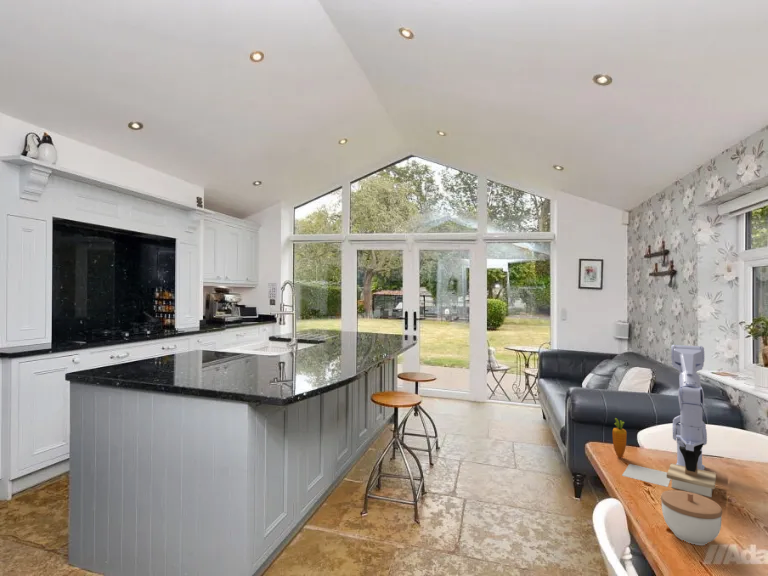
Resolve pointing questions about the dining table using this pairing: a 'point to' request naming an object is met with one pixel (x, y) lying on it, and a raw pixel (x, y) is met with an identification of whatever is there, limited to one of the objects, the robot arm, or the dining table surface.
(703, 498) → the lidded bowl
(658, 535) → the dining table surface
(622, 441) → the carrot
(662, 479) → the rubber mat
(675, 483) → the cream dish
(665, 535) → the dining table surface
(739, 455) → the dining table surface
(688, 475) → the oak lid
